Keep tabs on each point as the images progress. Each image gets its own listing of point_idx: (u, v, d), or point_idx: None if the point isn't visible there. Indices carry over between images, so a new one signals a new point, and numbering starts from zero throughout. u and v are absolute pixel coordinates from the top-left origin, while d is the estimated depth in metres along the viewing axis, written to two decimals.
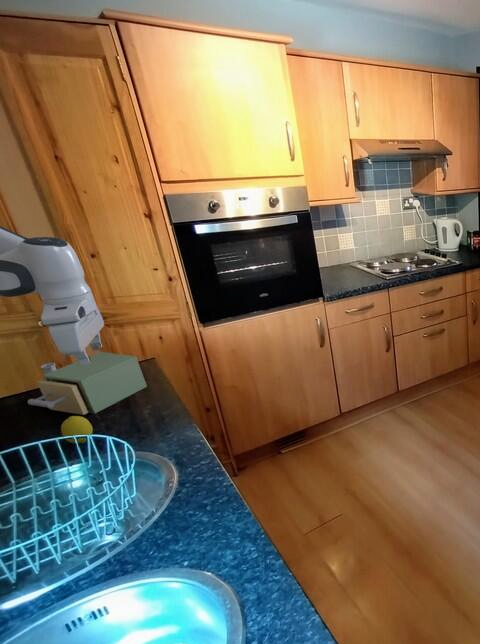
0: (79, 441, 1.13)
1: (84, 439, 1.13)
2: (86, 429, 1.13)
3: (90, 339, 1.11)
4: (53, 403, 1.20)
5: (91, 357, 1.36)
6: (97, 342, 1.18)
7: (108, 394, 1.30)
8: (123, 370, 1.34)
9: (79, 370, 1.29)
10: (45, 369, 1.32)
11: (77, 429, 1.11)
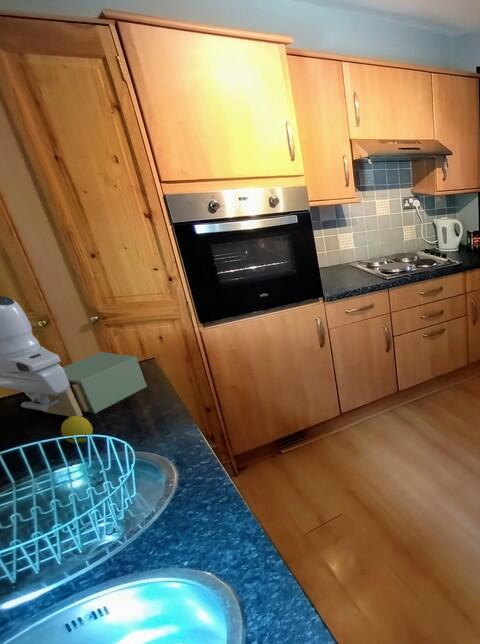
0: (79, 441, 1.13)
1: (84, 439, 1.13)
2: (86, 429, 1.13)
3: None
4: (47, 406, 1.19)
5: (91, 357, 1.36)
6: None
7: (108, 394, 1.30)
8: (123, 370, 1.34)
9: (79, 370, 1.29)
10: None
11: (77, 429, 1.11)
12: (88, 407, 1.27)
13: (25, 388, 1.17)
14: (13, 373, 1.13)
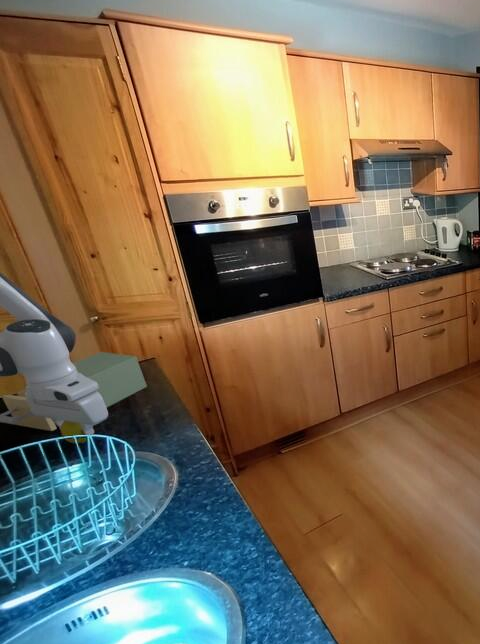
0: (79, 441, 1.13)
1: (84, 439, 1.13)
2: None
3: None
4: (18, 419, 1.13)
5: (91, 357, 1.36)
6: None
7: (108, 394, 1.30)
8: (123, 370, 1.34)
9: (79, 370, 1.29)
10: None
11: (76, 429, 1.11)
12: None
13: (61, 417, 1.10)
14: (50, 402, 1.06)
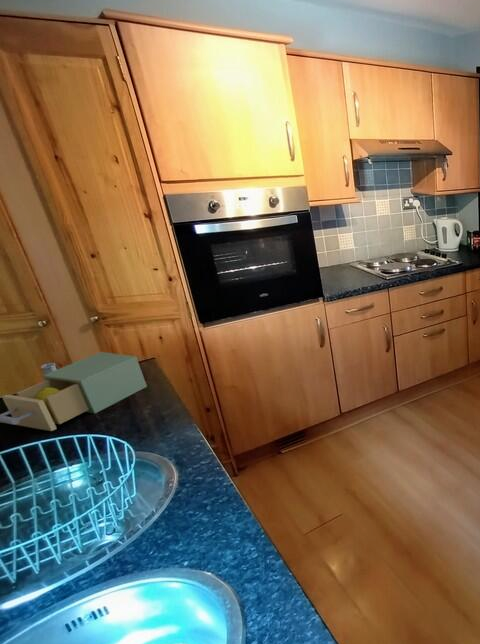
0: None
1: None
2: None
3: None
4: (18, 419, 1.13)
5: (91, 357, 1.36)
6: None
7: (108, 394, 1.30)
8: (123, 370, 1.34)
9: (79, 370, 1.29)
10: (45, 369, 1.32)
11: None
12: (63, 420, 1.21)
13: None
14: None
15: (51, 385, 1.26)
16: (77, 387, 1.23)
